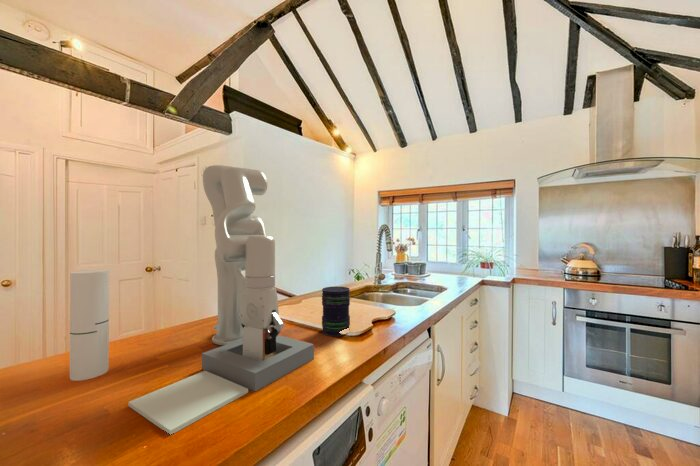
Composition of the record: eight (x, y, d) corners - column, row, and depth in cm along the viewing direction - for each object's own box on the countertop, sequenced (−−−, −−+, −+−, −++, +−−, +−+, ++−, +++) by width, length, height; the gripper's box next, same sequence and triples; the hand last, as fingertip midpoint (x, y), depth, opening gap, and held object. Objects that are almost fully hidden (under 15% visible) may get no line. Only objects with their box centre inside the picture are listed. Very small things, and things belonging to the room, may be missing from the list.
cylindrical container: (115, 369, 74) (115, 270, 74) (81, 382, 68) (82, 273, 68) (96, 365, 77) (97, 269, 77) (62, 377, 70) (62, 272, 70)
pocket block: (201, 369, 74) (201, 353, 74) (263, 344, 91) (263, 331, 91) (255, 391, 64) (255, 373, 64) (313, 358, 81) (313, 344, 81)
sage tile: (128, 405, 58) (128, 401, 58) (204, 373, 72) (205, 370, 72) (170, 435, 50) (170, 430, 50) (248, 392, 63) (248, 388, 63)
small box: (262, 371, 73) (262, 329, 73) (241, 369, 74) (242, 327, 74) (276, 358, 81) (276, 320, 81) (258, 356, 82) (258, 318, 82)
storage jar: (326, 337, 97) (326, 292, 97) (318, 328, 106) (318, 287, 106) (354, 334, 101) (354, 290, 101) (344, 325, 110) (344, 285, 110)
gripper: (227, 281, 79) (226, 347, 79) (272, 287, 70) (272, 362, 70) (250, 278, 85) (249, 339, 85) (294, 283, 76) (294, 352, 76)
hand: (260, 349), depth 78 cm, fingers closed on small box, 7 cm apart
